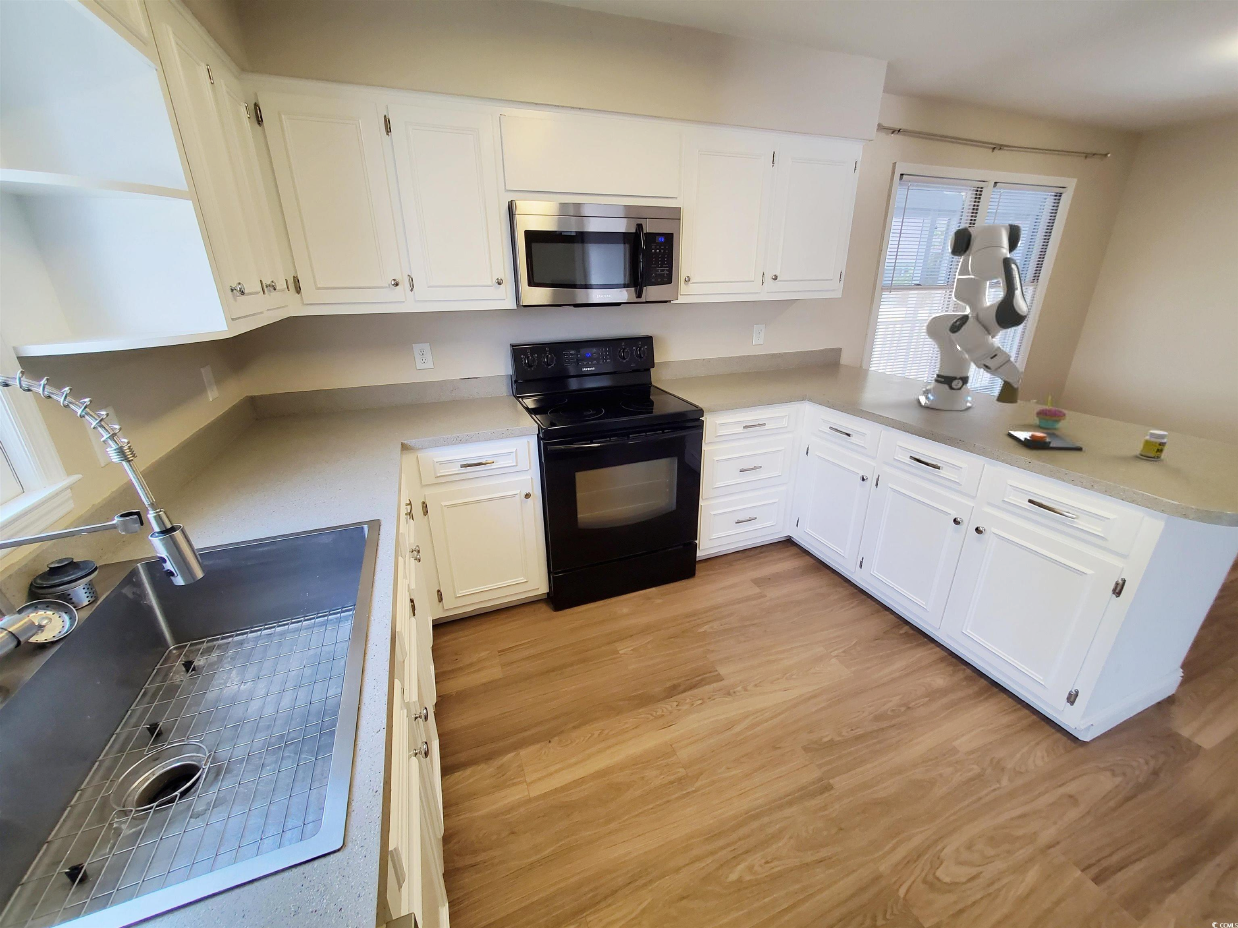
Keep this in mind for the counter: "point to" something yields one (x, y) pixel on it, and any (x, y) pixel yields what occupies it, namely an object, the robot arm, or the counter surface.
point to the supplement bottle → (1153, 445)
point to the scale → (1045, 441)
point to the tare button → (1038, 436)
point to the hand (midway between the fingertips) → (1013, 384)
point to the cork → (1008, 393)
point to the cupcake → (1050, 416)
